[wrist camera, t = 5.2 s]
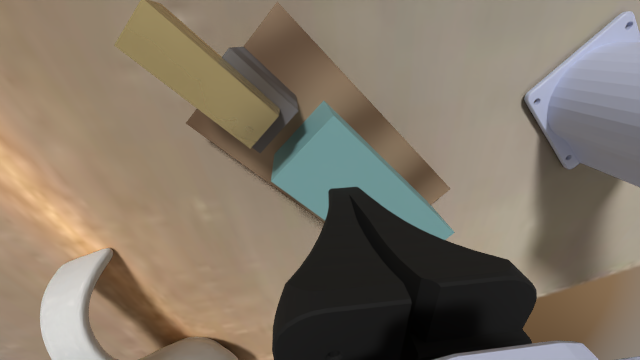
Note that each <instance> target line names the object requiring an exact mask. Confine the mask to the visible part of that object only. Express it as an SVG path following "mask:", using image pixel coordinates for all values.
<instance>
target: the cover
mask: <svg viewBox="0 0 640 360" xmlns="http://www.w3.org/2000/svg"><path fill="white" fill-rule="evenodd" d="M271 182H273V183H274V184H275V185H277V186H278V187H279V188H281V189H282V190H284V191H285V192H286V193H288V194H289V195H290V196H292V197H293V198H295V199H296V200H297V201H299V202H300V203H301V204H303V205H304V206H306V207H307V208H308V209H310V210H311V211H312V212H314V213H315V214H317V215H318V216H319V217H321V218H322V219H323V220H326V217H327V213H328V208H329V198H328V191H329V190H330V189H333V188H346V187H359V188H360V189H361V190H363V191H364V192H365V193H366V194H368V195H369V196H370V197H371V198H373V199H374V200H375V201H376V202H378V203H379V204H380V205H382V206H383V207H384V208H386V209H387V210H389V211H390V212H392V213H393V214H395V215H396V216H398V217H399V218H401V219H403V220H404V221H406V222H408V223H410V224H412V225H413V226H415V227H417V228H419V229H421V230H423V231H425V232H427V233H429V234H432V235H434V236H436V237H439V238H441V239H443V240H445V239H447V238H448V237H449V236H451V235H452V234H453V233H455V232H454V231H453V230H452V229H451V228H450V227H449V226H448V224H447V223H446V222H445V221H444V220H443V219H442V218H441V216H440V215H439V214H438V213H437V212H436V211H435V210H434V209H433V207H432V206H431V205H430V204H429V203H428V202H427V201H426V200H425V199H424V198H423V197H422V196H421V195H420V194H419V193H418V192H417V191H416V190H415V189H414V188H413V187H412V186H411V185H410V184H409V183H408V182H407V181H406V180H405V179H404V178H403V177H402V176H401V175H400V174H399V173H398V172H397V171H396V170H395V169H394V168H393V167H392V166H391V165H390V164H389V163H387V162H386V161H385V160H384V159H383V158H382V157H381V156H380V155H379V154H378V153H377V152H376V151H375V150H374V149H373V148H372V147H371V146H370V145H369V144H368V143H367V142H366V141H365V140H364V139H363V138H362V137H361V136H360V135H359V134H358V133H357V132H356V131H355V130H354V129H353V128H352V127H351V126H350V125H349V124H348V123H347V122H346V121H345V120H344V119H343V118H342V117H341V116H339V115H338V114H337V113H336V112H335V111H334V110H333V109H332V108H331V107H330V106H329V105H328V104H327V103H326V102H325V101H323V102H322V103H321V104H320V105H319V106H318V107H317V108H316V109H315V111H314V112H313V113H312V114H311V115H310V116H309V117H308V118H307V119H306V120H305V121H304V123H303V124H302V125H301V126H300V127H299V128H298V129H297V130H296V131H295V132H294V133H293V135H292V136H291V137H290V138H289V139H288V140H287V141H286V142H285V143H284V144H283V145H282V147H281V148H280V149H279V150H278V151H277V152H276V153H275V154H274V160H273V168H272V177H271Z"/></svg>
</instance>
